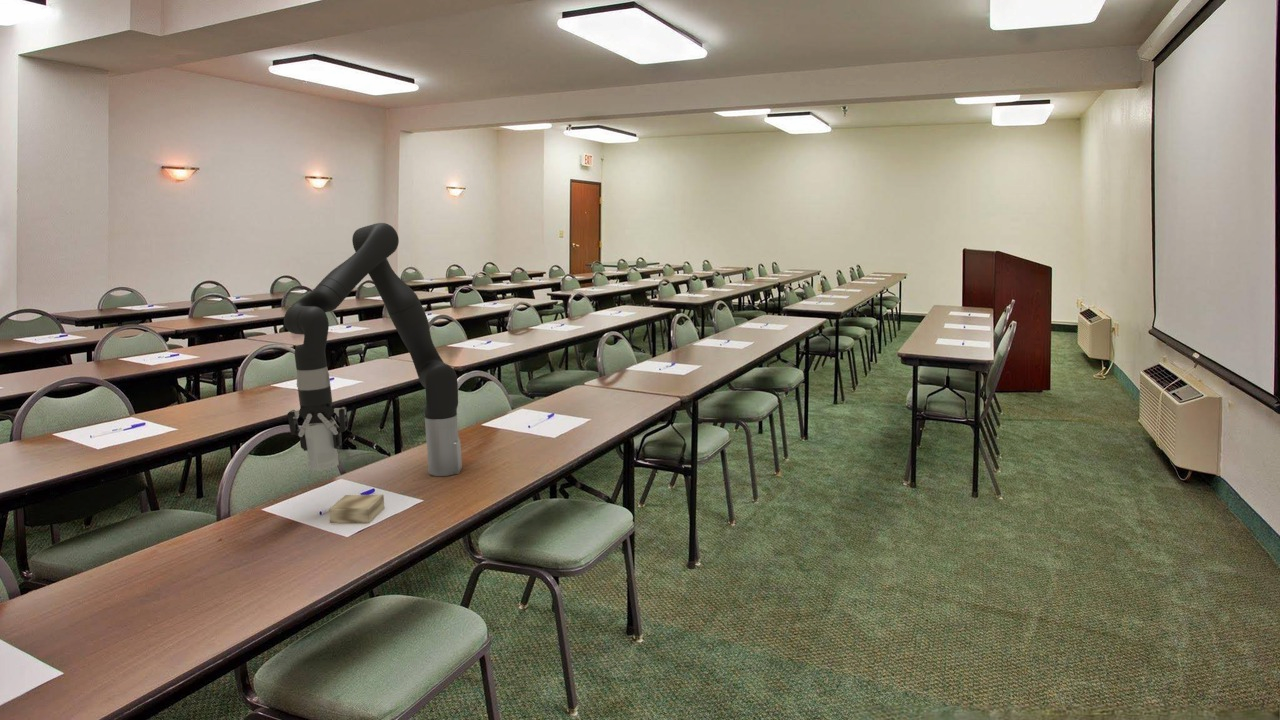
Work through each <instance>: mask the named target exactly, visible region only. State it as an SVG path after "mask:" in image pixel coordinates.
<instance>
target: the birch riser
mask: <svg viewBox="0 0 1280 720" xmlns="http://www.w3.org/2000/svg"><path fill="white" fill-rule="evenodd" d="M385 508H386V507H385V495H384V494H345V495H344V496H343V497H341V498H340V499H339V500H338V501H337V502H336V503H335V504H333V505H331V506H330V507H329V508H328V510H327V511H328V519H329V524H330V523H338V524H370V523H371V522H373V520H374V519H376V517H377V516H379V514H380V513H381V512H382V511H383V510H384V509H385Z"/></svg>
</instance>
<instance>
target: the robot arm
mask: <svg viewBox="0 0 1280 720" xmlns="http://www.w3.org/2000/svg"><path fill="white" fill-rule="evenodd" d="M351 240H352V246H353V249H354V251H355V253H353V254H352V255H351V256H350V257H348V258H347V259H346V260H345V261H343V262H342V263H340V264H339V265H338V266H336V267H335V268H334V269H332V270H331V271H330V272H329V273H328V274H327V275H325V276H324V278H323V279H321V281H320V282H319V283H318V284H317V285H316V286H315V288H314V289H313V290H312V291H310V292H308V293H307V294H305V295H304V296H302V297H301V298H300V299H298V300H297V301H296V302H294V303H292V305H290V307H289V308H287V310H286V312H285V314H284V317H283V324H284V328H285V329H286V330H287V332H289V333H290V334H294V335H303V337H304V339H303V343H302V344H300V345H298V346H296V347H295V348H294V361H295V370H296V387H297V392H298V393H297V394H298V401H299V402H298V403H299V406H300V407H299V409H298V410H297V409H296V410H295V409H291V410H290V411H288V412H287V414H286V416H287V419H288V425H289V426H288V427H289V431H290V434H291V436H298V437H299V442H300V448H301V449H302V450H303V451H304V452H307V446H306V439H305V430H306V425H307V424H311V423H324V424H325V425H326V426H327V428H329V429H330V430H331V431H332V433H333V434H334V435H333V441H334V448H335V449H337V450H338V449H339V448H340V447H341V446H342V444H343V443H342V442H343V441H342V433H344V432H346V430H347V429H348V428H349V425H348V424H349V423H348V410H347V409H348V408H347V407H346V406H342V407H335V406H334V405H333V398H332V397H333V395H332V388H331V386H332V385H331V380H330V379H331V377H330V373H329V369H328V363H327V362H328V361H327V357H326V356H327V355H326V348H327V347H326V346H327V343H328V342H327V341H328V337H329V336H328V335H329V330H330V329H329V326H330V325H329V323H330V322H329V318H328V315H327V314H326V313H329V312H333V311H335V310H336V309H337V308H338V307H339V306H340V305H341V304H342V303H343V301H344V300H345V299H346V298H348V296H349V294H350V293H351V292H352V291H353V290H354V289H356V287H357V285H358V284H360V282H361V281H363V279H364V278H366V277H367V275H368V276H369V277H370V279H371V280H372V283H373V284H374V286H375V289H376V291H377V292H378V294H379V296H380V298H381V300H382V302H383V304H384V306H385V308H386V311H387V314H388V315H389V318H390V319H391V322H392V324H393V325H394V327H395V329H396V331H397V333H398V335H399V337H400V339H401V341H402V342H403V344H404V345H405V348H406V349H407V350H408V352H409V354H410V357H411V360H412V363H413V365H414V367H415V371H416V374H417V377H418V380H419V382H420V384H421V386H422V387H423V388H424V389H425V395H426V399H425V401H426V403H425V406H424V408H423V411H424V412H423V413H424V423H425V425H424V426H425V438H426V452H427V454H426V455H427V469H428V474H429V475H431V476H434V477H447V476H452V475H459V474H460V472H461V470H462V468H463V465H462V463H463V462H462V450H461V449H462V448H461V447H462V446H461V438H460V437H459V427H458V411H457V410H458V406H459V385H458V376H457V373H456V371H455V369H454V367H452V366H451V365H449V364H447V363H445V362H444V360H443V359H442V357H441V356H440V354H439V353H438V351H437V349H436V346H435V344H434V341H433V339H432V335H431V330H430V325H429V324H430V323H429V320H428V317H427V314H426V311H425V310H424V307H423V305H422V303H421V301H420V298H419V297H418V295H417V293H416V292H415V291H414V290H413V289H412V288H411V287H410V286H409V285H408V284H407V283H405V281H404V280H402V278H401V277H400V276H399V275H397V274H396V273H395V271H394V269H393V267H392V266H391V265H390V262H389V260H388V257H390V256H392V255H393V254H394V253H395V252H396V251H397V249H398V246H399V242H400V241H399V240H400V239H399V235H398V232H397V231H396V229H395V228H394V226H392V225H390V224H388V223H385V222H377V223H373V224H370V225H366V226H363V227H359V228H358V229H356V230H355V231H354V232H353V234H352V239H351ZM334 414H335V415H336V416H337V417H338V418H339V419H338V421H339V425H338V424H337V421H336V420H335V418H334V417H333V416H334ZM299 416H300V417H301V418H302V419H303V420H304V421H303V423H302V425H301V428H299V422H298V419H299ZM330 420H332V421H333V422H332V423H331V422H330Z"/></svg>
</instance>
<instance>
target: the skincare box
mask: <svg viewBox="0 0 1280 720" xmlns="http://www.w3.org/2000/svg"><path fill="white" fill-rule="evenodd" d="M330 422H331V423H332V422H333V421H332V420H330ZM333 435H334V434H333V433H332V431H331V430H330V429H329V428H327V426H326V425H325V424H324V423H311V424H307V425H306V430H305V439H306V446H307V451H306V454H307V460H308V467H309V469H310V470H312V471H314V472H320V471H323V470H326V469H330V468H333V467H337V466H340V464H339V463H340V461H339V455H338V449H335V448H334V441H333Z"/></svg>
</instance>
